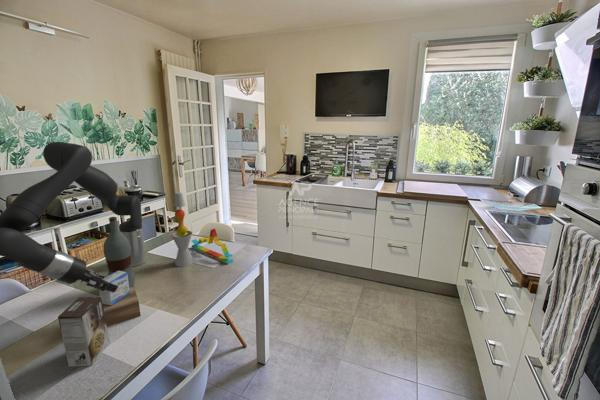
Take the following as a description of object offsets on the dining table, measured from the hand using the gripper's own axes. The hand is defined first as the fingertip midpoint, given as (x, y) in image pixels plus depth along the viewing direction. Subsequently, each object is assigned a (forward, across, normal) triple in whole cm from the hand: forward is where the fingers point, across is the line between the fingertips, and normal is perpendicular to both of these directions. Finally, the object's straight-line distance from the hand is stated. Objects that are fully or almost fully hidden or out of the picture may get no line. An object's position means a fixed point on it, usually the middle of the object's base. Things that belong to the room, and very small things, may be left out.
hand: (111, 285), depth 98 cm
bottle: (+14, +17, +2) cm, 22 cm away
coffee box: (0, -14, +17) cm, 22 cm away
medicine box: (+5, 0, +4) cm, 6 cm away
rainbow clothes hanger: (+44, +16, -27) cm, 54 cm away
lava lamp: (+34, +18, -18) cm, 43 cm away
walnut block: (+9, 0, +8) cm, 12 cm away
